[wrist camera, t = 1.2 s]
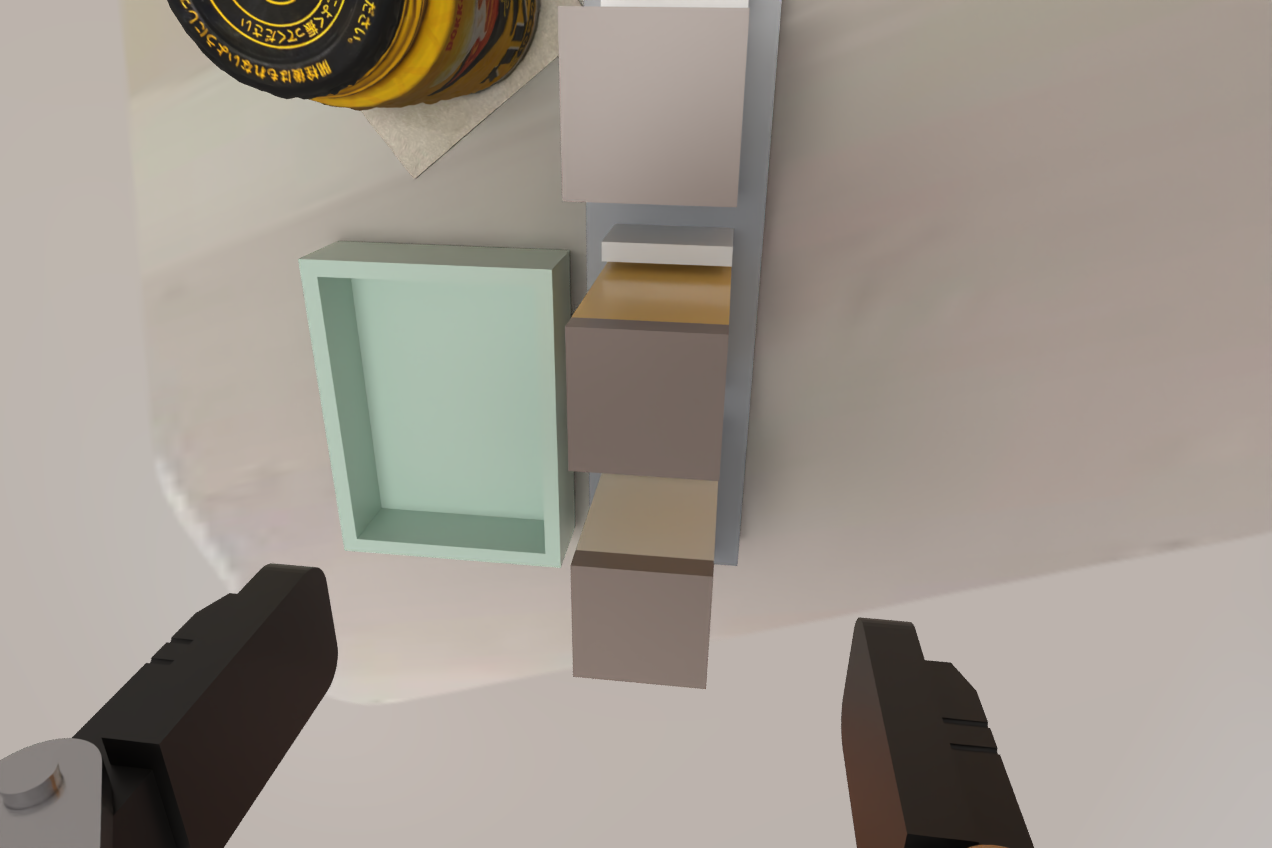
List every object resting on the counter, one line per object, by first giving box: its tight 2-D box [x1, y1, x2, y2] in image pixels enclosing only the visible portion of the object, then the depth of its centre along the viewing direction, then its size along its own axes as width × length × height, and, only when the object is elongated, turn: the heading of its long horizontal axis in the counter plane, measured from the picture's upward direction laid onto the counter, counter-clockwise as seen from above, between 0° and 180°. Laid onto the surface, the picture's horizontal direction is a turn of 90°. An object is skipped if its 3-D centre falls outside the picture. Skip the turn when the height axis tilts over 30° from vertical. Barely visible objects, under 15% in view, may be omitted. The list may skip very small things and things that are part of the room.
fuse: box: [565, 262, 731, 481], centre depth 24 cm, size 4×4×9 cm
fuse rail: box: [558, 0, 782, 689], centre depth 25 cm, size 6×21×11 cm, turn 179°
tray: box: [298, 241, 575, 568], centre depth 32 cm, size 9×12×3 cm
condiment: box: [167, 0, 581, 179], centre depth 22 cm, size 7×8×12 cm
